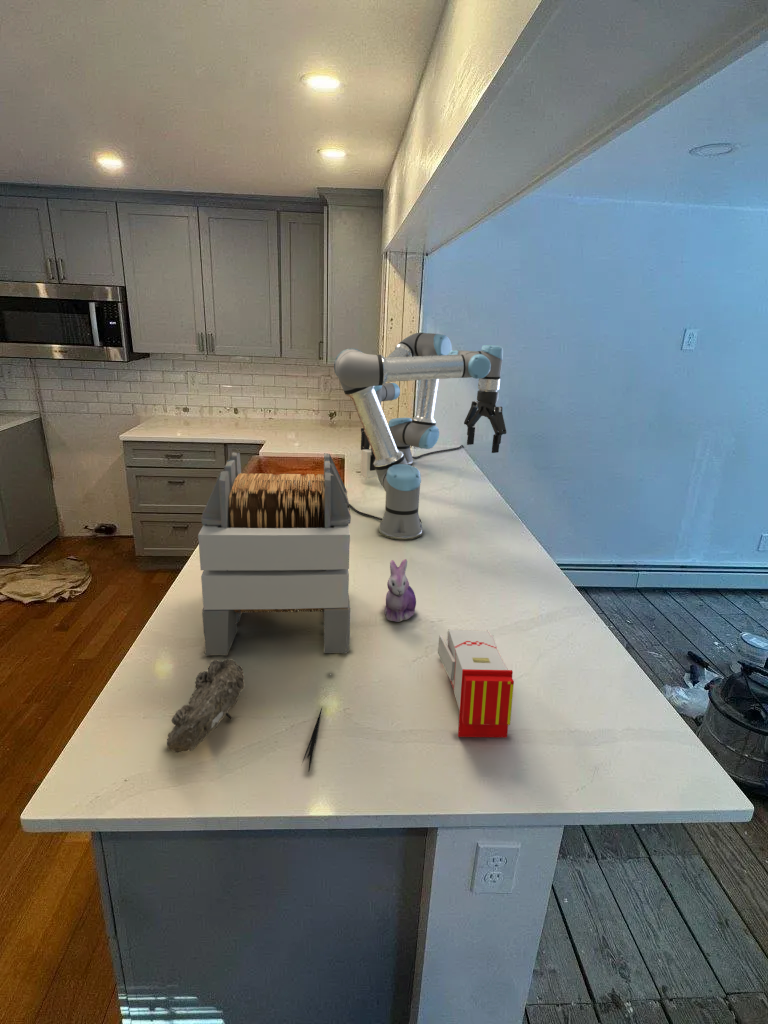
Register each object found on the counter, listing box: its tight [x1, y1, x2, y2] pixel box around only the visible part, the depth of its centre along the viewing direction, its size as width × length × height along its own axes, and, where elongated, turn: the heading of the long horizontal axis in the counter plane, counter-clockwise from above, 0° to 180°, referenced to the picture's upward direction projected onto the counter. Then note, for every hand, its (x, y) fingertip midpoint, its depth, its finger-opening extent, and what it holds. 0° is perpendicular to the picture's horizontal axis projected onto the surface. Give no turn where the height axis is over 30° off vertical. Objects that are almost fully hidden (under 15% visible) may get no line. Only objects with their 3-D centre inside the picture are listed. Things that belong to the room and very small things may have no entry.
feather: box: [301, 673, 332, 771], centre depth 108 cm, size 2×28×2 cm
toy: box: [437, 628, 515, 738], centre depth 117 cm, size 12×13×30 cm
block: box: [360, 448, 378, 479], centre depth 251 cm, size 6×5×12 cm
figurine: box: [384, 558, 417, 623], centre depth 145 cm, size 9×10×15 cm
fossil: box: [166, 658, 245, 754], centre depth 106 cm, size 22×10×15 cm
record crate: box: [197, 451, 352, 657], centre depth 136 cm, size 34×33×41 cm
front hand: (482, 448), depth 210 cm, fingers open, 13 cm apart
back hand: (369, 468), depth 252 cm, fingers closed on block, 5 cm apart
